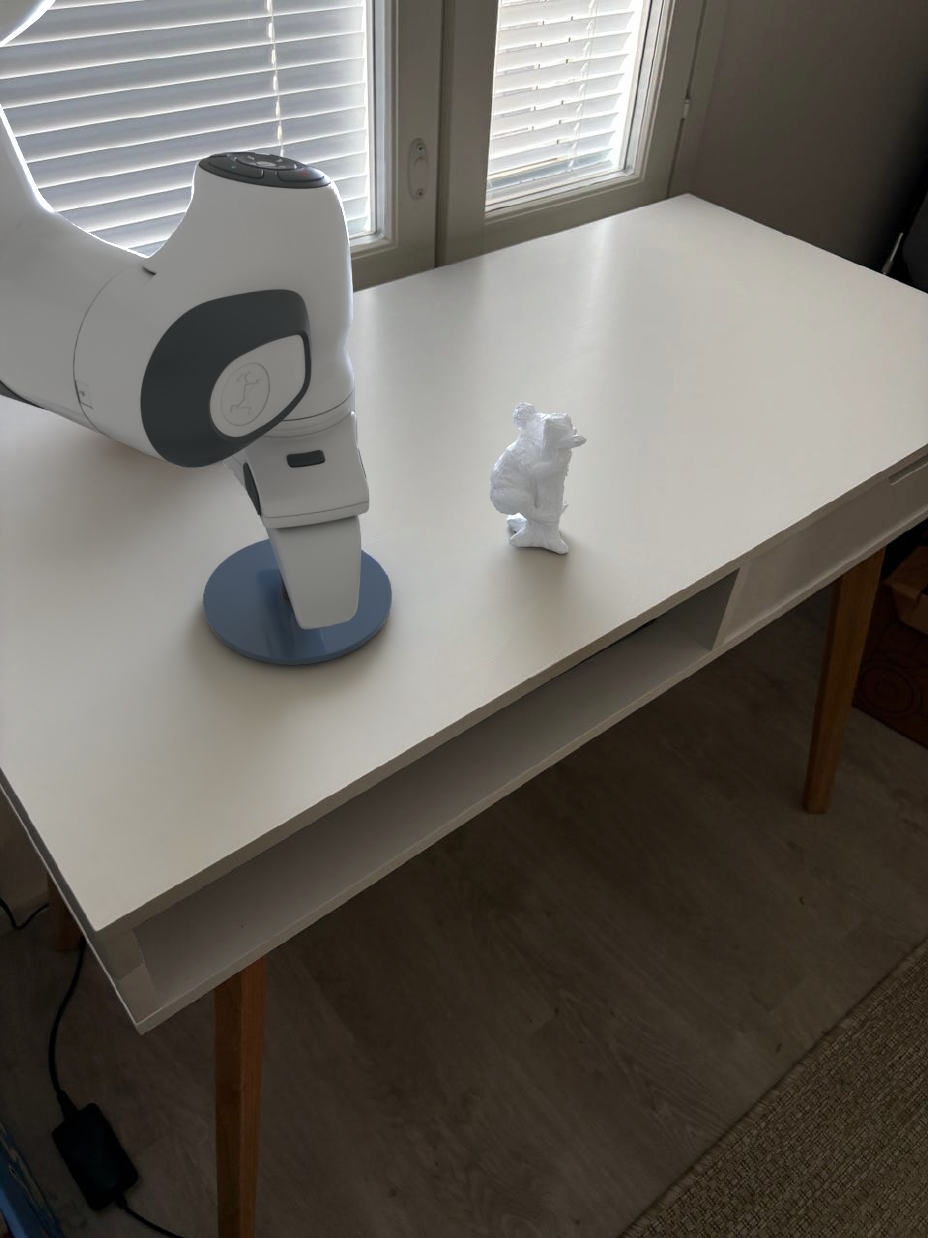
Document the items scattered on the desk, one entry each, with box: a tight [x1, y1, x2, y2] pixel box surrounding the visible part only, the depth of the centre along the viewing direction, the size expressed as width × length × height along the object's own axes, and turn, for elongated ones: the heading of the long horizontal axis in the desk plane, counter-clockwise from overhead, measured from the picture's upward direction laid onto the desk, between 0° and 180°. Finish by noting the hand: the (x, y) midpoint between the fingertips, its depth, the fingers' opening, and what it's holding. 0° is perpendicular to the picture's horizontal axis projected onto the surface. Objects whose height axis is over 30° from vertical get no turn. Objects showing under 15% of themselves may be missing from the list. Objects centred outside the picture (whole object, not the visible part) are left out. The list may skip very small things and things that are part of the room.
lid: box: [202, 538, 393, 666], centre depth 73 cm, size 14×14×5 cm
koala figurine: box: [488, 402, 587, 555], centre depth 78 cm, size 8×7×12 cm
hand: (297, 587), depth 73 cm, fingers closed on lid, 2 cm apart
